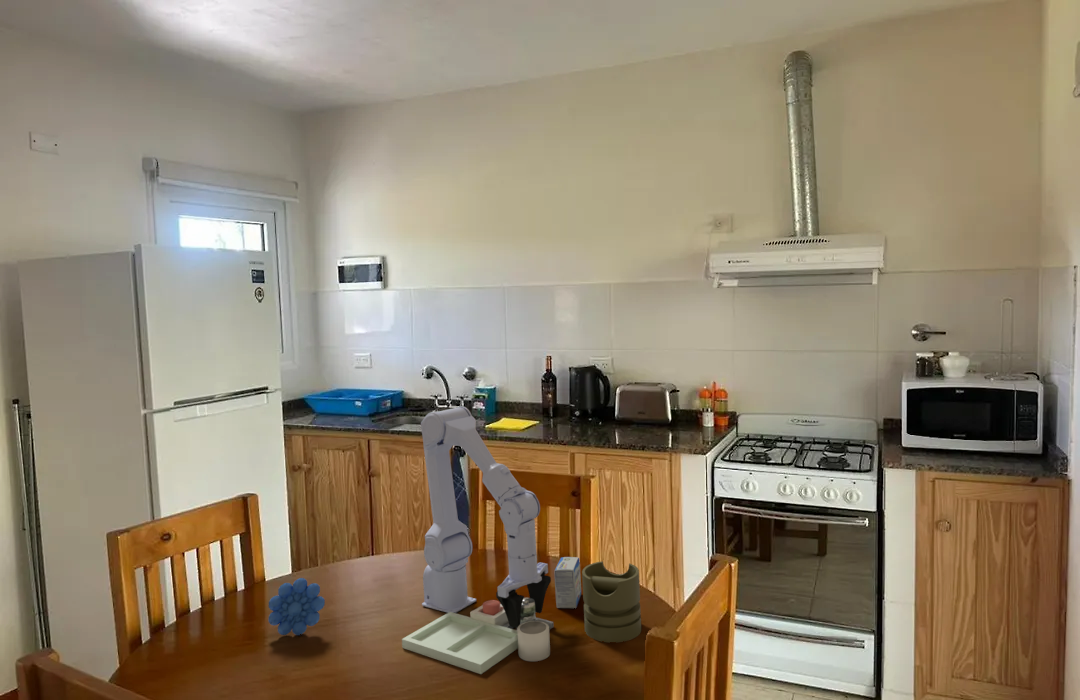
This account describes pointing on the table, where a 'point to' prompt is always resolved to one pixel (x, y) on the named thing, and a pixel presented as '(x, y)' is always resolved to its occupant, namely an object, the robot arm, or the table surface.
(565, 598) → the medicine box
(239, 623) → the table surface
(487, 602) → the button
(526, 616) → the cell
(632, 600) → the piston
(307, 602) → the blue flower
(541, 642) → the cup
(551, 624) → the cradle
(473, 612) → the frame
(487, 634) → the trough tray
